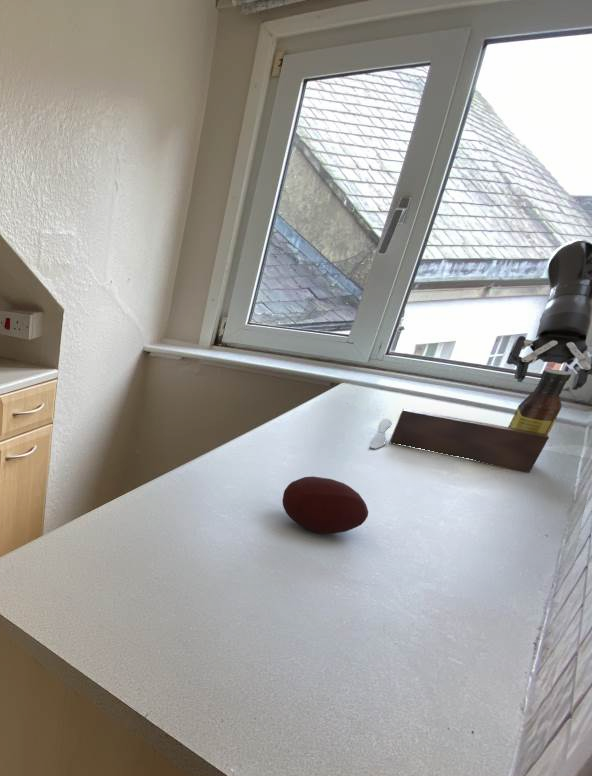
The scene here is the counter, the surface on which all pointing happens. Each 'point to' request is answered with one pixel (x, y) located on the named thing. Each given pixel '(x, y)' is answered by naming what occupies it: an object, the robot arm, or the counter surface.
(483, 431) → the backsplash board
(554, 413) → the sauce bottle
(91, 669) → the counter surface
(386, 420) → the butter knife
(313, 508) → the potato
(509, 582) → the counter surface
